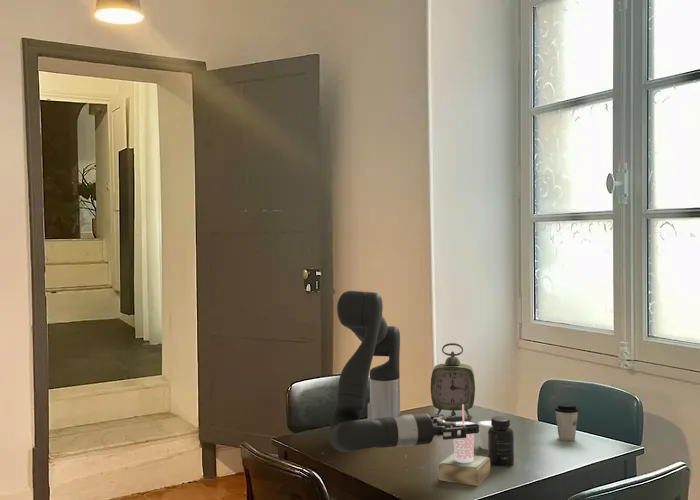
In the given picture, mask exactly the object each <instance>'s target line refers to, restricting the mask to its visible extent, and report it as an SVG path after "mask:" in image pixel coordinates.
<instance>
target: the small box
mask: <svg viewBox="0 0 700 500" xmlns="http://www.w3.org/2000/svg"><path fill="white" fill-rule="evenodd" d="M489 475H491V464H490V458H488V456H482V455H474V459H473V461H472V462H469V463H461V462H457V461H455V455H454V452H453V453H451V454H449V456H447V457H446V458H445V459H443V460H442V461H440V462H439V463H438V480H439V481H442V482H443V481H444V482H449V483H454V484H462V485H470V486H477V487H478V486H480V485H481V484H482V482H484V481H485V480H486V479H487V478H488V477H489Z"/></svg>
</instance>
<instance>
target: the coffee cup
mask: <svg viewBox="0 0 700 500" xmlns="http://www.w3.org/2000/svg"><path fill="white" fill-rule="evenodd" d="M553 410H554V412H555V418H556V427H557V433H558V439H559V440H561V441H565V442H567V441H568V442H569V441H575V440H576V434H577V433H576V432H577V424H578V416H579V415H578V414H579V411H580V410H579V408H578V407H577V406H576V404H573V403H568V402H566V403H565V402H562V403H558V405H557V406H555V407H554V409H553Z"/></svg>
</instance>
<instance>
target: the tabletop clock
mask: <svg viewBox="0 0 700 500" xmlns="http://www.w3.org/2000/svg"><path fill="white" fill-rule="evenodd" d="M448 346H457V347H459V348H460V349H461V351H460V352H458V353H455V351H451V352H450V353H447V352H446V351H444V349H445V348H446V347H448ZM441 352H442V353H443V354H444V355H446V356H447V357H446V360H445V362H444V363H439V364H436V365H434V367H433V370H432V373H431V378H430V394H431V395H430V396H431V397H430V398H431V401H432V405H433V407H434V408H436V409H438V411H437V413H436V414H435V415H440V413H441V411H442V410H444V411H451V413H450V416H451V417H452V416H457V414H456V412H457V411H462V404H464V412H465V413H466V415H467V416H466V418H467V421H468V420H469V421H471V420H472V419H473V416H472V414H470V413H469V411H468V410H471V409H472V408H473V406H474V402H475V399H476V397H475V395H476V384H475V383H476V382H475V374H474V369H473V367H472V366H471V365H470V364H466V363H461V360H460V358H458V357H457V356H460V355H462V354H463V352H464V348H463V346H462V345H460V344H458V343H455V342H450V343H446V344H444V345H443V346H442V348H441ZM448 356H449V357H448ZM455 411H456V412H455Z"/></svg>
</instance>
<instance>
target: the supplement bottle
mask: <svg viewBox="0 0 700 500" xmlns="http://www.w3.org/2000/svg"><path fill="white" fill-rule="evenodd" d="M510 420H511V419H510V418H509V417H508V416H503V415H501V416H500V415H495V416H493V417H491V425H492V427H491V428H489V430H488V450H487V457H488V458H490V465H493V466H495V467H510V466H512V465H513V464H514V463H515V434H514V432H515V431H514V430H513V429H512V428H511V427H510V426H511V421H510Z"/></svg>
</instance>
